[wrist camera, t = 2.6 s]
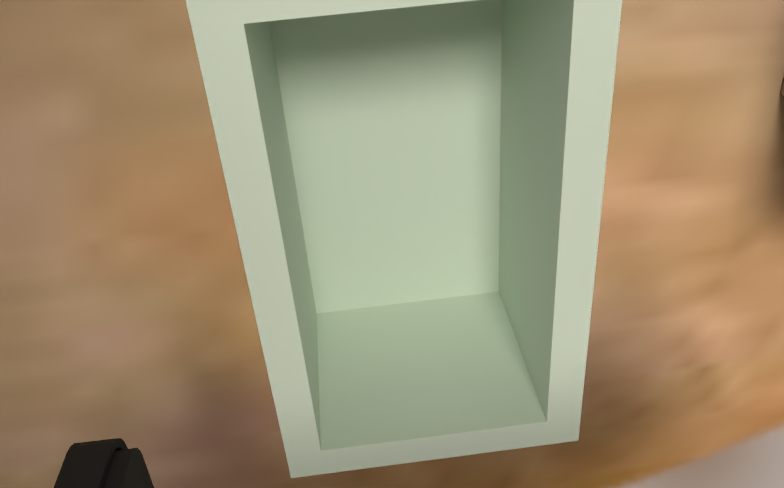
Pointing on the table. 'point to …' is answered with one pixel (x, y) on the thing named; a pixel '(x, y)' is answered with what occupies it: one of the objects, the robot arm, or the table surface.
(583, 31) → the sage crate
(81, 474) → the robot arm
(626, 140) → the table surface
